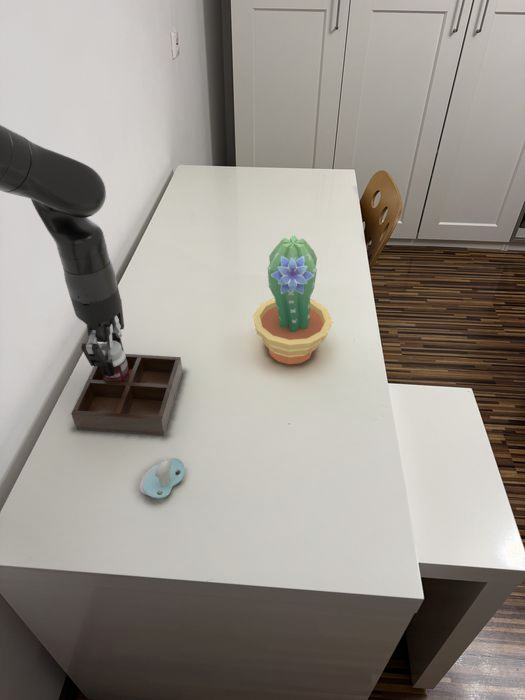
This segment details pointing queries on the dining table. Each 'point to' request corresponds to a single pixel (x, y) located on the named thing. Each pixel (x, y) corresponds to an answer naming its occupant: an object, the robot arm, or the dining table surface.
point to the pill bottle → (118, 364)
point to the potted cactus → (292, 304)
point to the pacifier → (162, 478)
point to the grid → (131, 397)
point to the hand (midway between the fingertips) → (113, 364)
